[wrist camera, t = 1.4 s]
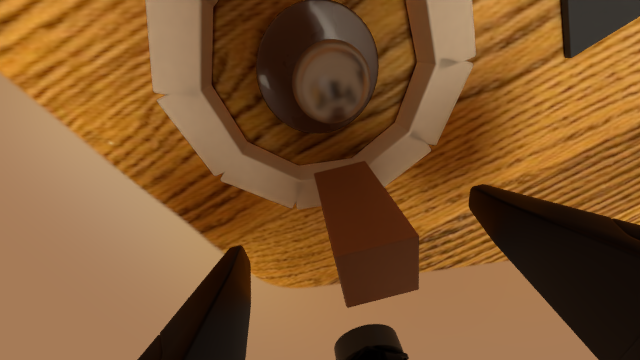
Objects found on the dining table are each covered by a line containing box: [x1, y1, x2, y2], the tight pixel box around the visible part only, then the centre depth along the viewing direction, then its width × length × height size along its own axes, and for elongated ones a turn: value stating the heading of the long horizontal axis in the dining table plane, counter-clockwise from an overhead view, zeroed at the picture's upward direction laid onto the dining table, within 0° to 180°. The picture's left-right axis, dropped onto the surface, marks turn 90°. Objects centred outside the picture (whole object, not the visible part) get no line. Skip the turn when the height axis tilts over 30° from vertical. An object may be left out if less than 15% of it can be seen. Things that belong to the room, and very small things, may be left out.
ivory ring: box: [145, 0, 476, 307], centre depth 8 cm, size 12×12×7 cm
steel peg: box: [256, 0, 378, 133], centre depth 8 cm, size 5×5×4 cm
